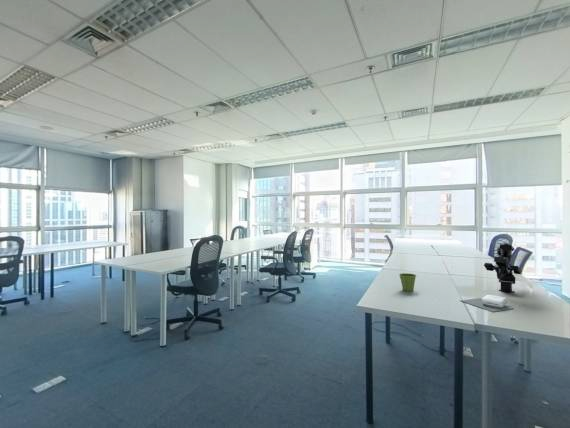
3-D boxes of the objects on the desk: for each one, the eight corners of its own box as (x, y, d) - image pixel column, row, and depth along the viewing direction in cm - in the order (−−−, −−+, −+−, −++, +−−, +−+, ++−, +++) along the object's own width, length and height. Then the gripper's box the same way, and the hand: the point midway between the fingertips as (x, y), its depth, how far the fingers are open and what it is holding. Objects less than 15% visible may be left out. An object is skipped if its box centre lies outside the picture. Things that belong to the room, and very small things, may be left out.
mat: (479, 298, 169) (479, 298, 169) (513, 308, 150) (513, 308, 150) (460, 301, 165) (460, 300, 165) (493, 312, 146) (493, 311, 146)
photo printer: (486, 300, 164) (480, 305, 156) (486, 293, 164) (480, 297, 156) (507, 304, 156) (502, 309, 148) (507, 297, 156) (502, 302, 148)
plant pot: (414, 288, 196) (414, 273, 196) (418, 292, 184) (418, 276, 184) (397, 287, 199) (397, 272, 199) (400, 292, 187) (400, 276, 187)
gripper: (484, 251, 182) (477, 269, 177) (517, 253, 166) (511, 273, 160) (490, 261, 186) (483, 278, 180) (524, 264, 169) (517, 284, 164)
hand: (498, 278), depth 171 cm, fingers closed
